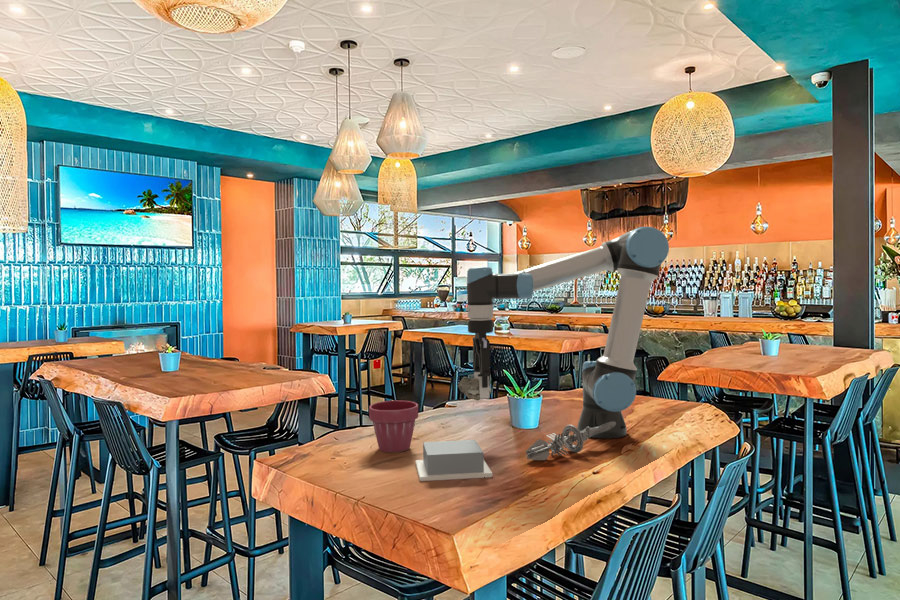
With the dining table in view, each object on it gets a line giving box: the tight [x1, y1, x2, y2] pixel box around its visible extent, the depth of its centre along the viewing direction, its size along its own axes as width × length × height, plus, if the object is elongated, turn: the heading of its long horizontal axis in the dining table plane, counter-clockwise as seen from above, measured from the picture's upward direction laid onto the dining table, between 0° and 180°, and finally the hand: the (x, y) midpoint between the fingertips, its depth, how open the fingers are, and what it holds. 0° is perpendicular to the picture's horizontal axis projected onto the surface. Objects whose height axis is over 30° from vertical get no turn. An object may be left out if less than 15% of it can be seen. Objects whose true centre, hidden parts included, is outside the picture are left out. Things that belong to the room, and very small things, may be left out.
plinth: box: [415, 439, 494, 482], centre depth 151 cm, size 18×14×6 cm
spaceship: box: [525, 421, 616, 461], centre depth 166 cm, size 8×35×8 cm
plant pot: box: [368, 399, 419, 453], centre depth 172 cm, size 14×14×13 cm
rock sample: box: [457, 376, 493, 401], centre depth 175 cm, size 11×8×9 cm
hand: (481, 395), depth 175 cm, fingers closed on rock sample, 8 cm apart
